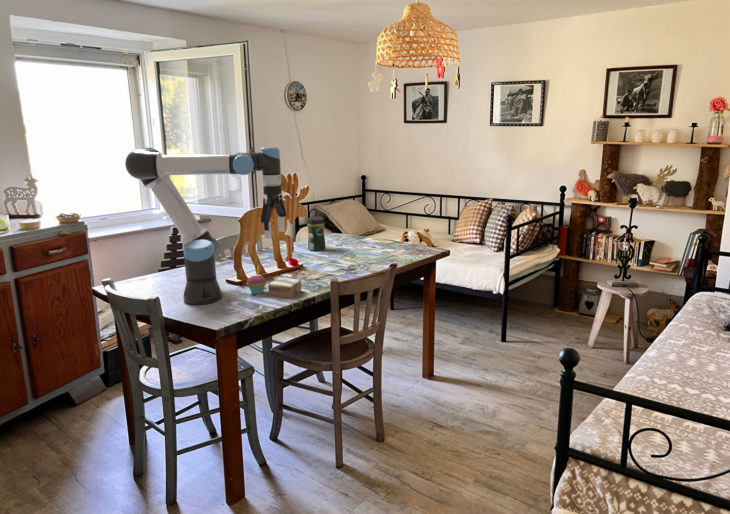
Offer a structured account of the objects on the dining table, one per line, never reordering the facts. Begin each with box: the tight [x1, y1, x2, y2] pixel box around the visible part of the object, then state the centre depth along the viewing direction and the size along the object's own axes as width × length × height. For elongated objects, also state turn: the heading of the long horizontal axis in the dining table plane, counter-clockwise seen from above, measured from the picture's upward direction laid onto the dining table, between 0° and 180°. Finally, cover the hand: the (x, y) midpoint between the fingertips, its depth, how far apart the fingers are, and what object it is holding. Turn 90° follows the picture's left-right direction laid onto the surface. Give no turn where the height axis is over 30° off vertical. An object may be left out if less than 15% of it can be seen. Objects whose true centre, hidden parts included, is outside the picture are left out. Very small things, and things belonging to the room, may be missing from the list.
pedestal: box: [267, 277, 302, 299], centre depth 227 cm, size 10×10×5 cm
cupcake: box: [245, 263, 267, 295], centre depth 228 cm, size 9×8×12 cm
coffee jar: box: [306, 216, 327, 252], centre depth 303 cm, size 10×8×19 cm
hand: (274, 234), depth 232 cm, fingers open, 13 cm apart
